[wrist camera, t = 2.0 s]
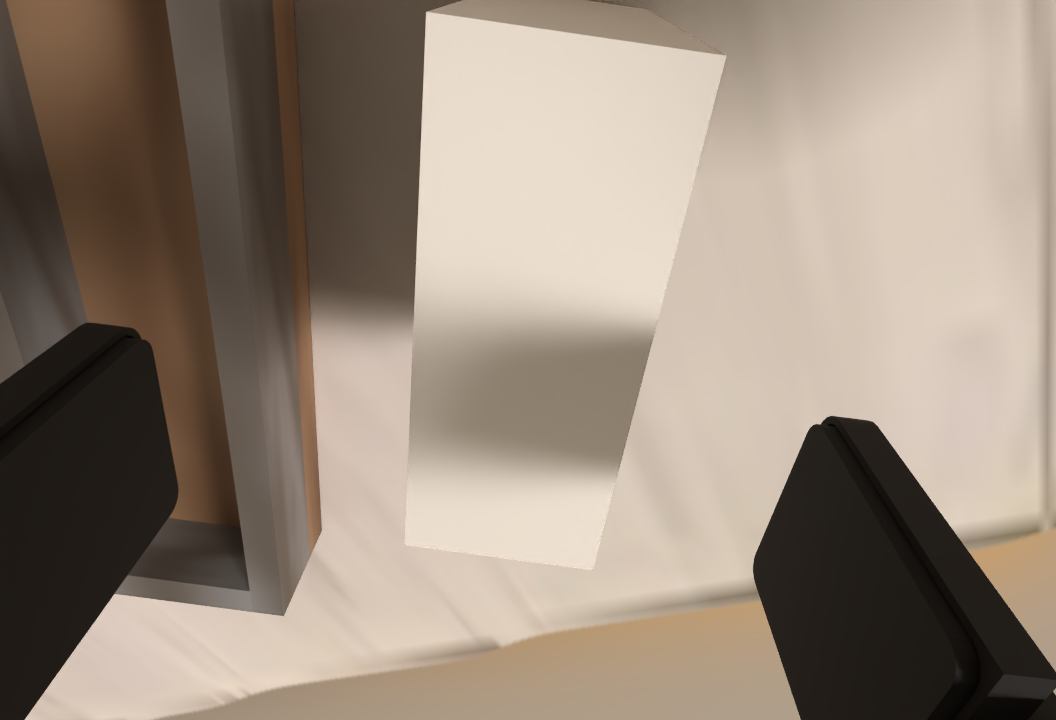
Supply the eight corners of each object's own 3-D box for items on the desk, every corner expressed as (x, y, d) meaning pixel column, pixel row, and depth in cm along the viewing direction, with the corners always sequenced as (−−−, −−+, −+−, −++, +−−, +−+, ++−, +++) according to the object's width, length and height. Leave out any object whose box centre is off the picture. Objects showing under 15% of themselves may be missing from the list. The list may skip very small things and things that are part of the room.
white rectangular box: (647, 9, 18) (730, 56, 9) (585, 325, 23) (595, 570, 14) (500, -13, 18) (422, 11, 9) (470, 310, 23) (402, 544, 14)
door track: (274, -354, 15) (169, -468, 11) (321, 530, 29) (283, 615, 25) (-101, -412, 15) (-342, -548, 11) (133, 505, 29) (66, 587, 25)
